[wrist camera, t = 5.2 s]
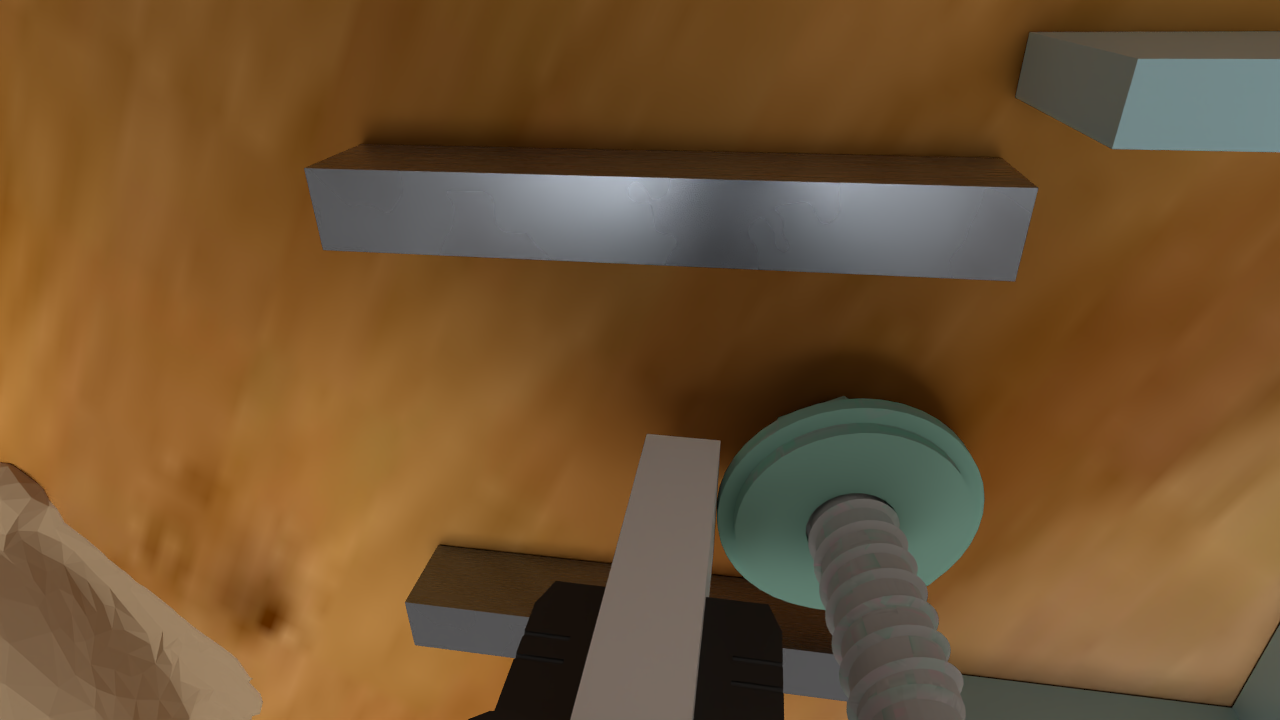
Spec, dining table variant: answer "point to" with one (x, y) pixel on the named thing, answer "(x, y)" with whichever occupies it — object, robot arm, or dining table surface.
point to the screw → (860, 541)
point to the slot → (673, 236)
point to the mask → (96, 631)
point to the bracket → (1148, 120)
